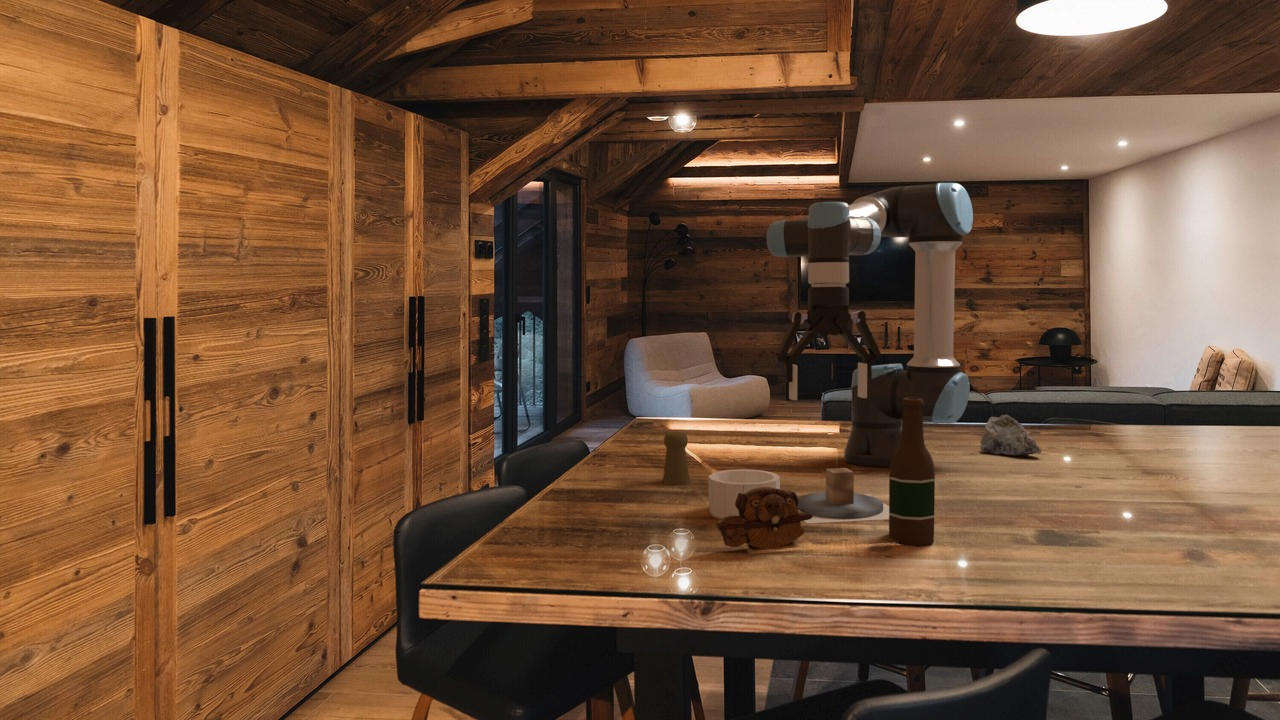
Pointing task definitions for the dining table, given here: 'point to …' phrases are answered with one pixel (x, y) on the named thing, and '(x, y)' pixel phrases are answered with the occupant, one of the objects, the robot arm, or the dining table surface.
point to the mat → (881, 516)
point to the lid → (840, 498)
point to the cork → (676, 459)
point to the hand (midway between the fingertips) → (827, 398)
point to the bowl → (735, 488)
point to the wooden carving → (764, 519)
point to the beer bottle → (912, 482)
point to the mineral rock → (1007, 438)
